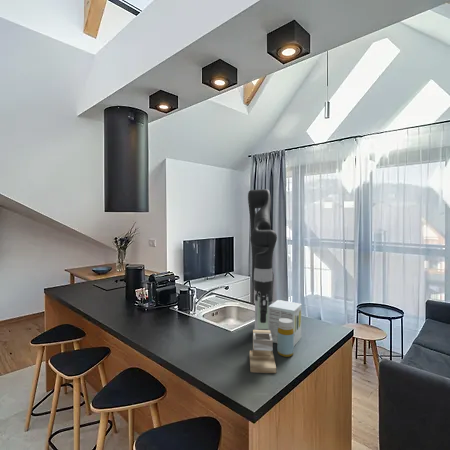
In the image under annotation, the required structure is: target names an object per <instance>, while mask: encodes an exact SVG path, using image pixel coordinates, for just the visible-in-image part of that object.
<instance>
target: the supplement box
mask: <svg viewBox="0 0 450 450" xmlns="http://www.w3.org/2000/svg"><path fill="white" fill-rule="evenodd" d="M302 306H303V305H302V303H299V302H294V301H287V300H281V299H277V300H276V301H273V304H271V305H270V306H268V330H270V332H271V336H272V340H273V344H274V343H275V344H278V328H279V319H280V318H289V319H291V320H293V331H294V347H295V346H296V345H297V343H298V342H299V341H300V340H301V339H302V317H303V316H302V314H303V313H302V309H303V307H302Z"/></svg>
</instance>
